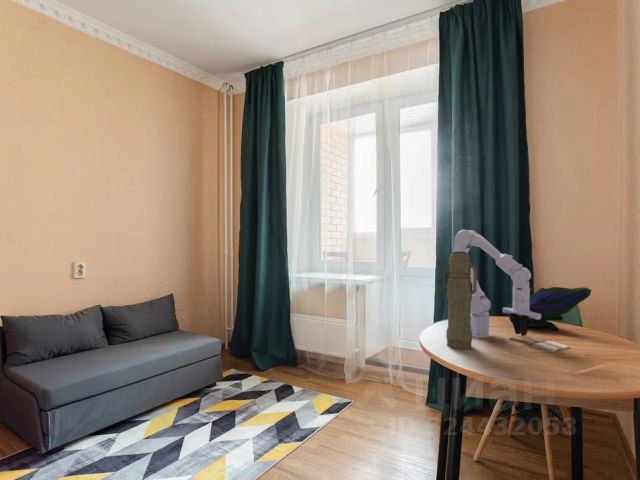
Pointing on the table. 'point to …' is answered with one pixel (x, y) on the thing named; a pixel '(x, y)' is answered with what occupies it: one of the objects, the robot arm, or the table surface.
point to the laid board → (550, 346)
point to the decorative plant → (554, 303)
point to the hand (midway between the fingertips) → (520, 334)
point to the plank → (526, 339)
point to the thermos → (459, 300)
